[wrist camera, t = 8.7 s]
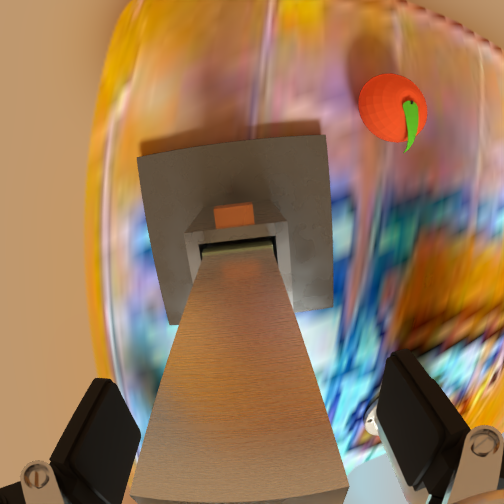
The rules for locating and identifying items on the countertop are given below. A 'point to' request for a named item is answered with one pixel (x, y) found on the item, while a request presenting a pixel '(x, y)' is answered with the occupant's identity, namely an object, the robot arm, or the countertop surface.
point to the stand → (241, 212)
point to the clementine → (393, 108)
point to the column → (239, 396)
